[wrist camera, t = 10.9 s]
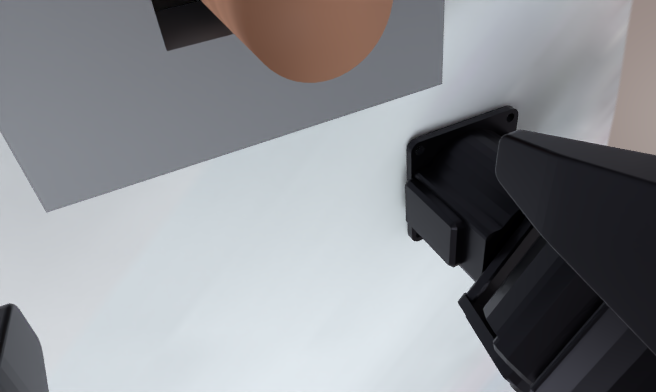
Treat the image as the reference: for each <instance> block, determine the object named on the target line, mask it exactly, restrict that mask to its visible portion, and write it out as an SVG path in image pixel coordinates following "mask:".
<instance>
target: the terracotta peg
mask: <svg viewBox="0 0 656 392" xmlns="http://www.w3.org/2000/svg"><path fill="white" fill-rule="evenodd" d="M201 1H202V2H203V3H204V4H205V5H206V6H207V7H208V8H209V9H210V10H211V11H212V12H213V13H214V14H215V15H216V16H217V17H218V18H219V19H220V20H221V21H222V22H223V23H224V24H225V25H226V26H227V27H228V28H229V29H230V30H231V31H232V32H233V33H234V34H235V35H236V36H237V37H238V38H239V39H240V40H241V41H242V42H243V43H244V44H245V45H246V46H247V47H248V48H249V49H250V50H251V51H252V52H253V53H254V54H255V55H256V56H257V57H258V58H259V59H260V60H261V61H262V62H263V63H264V64H265V65H266V66H267V67H268V68H269V69H270V70H272V71H273V72H275V73H276V74H278V75H280V76H282V77H284V78H286V79H289V80H293V81H296V82H303V83H316V82H324V81H327V80H331V79H334V78H336V77H339V76H341V75H343V74H345V73H347V72H348V71H350V70H351V69H353V68H354V67H356V66H357V65H358V64H359V63H360V62H362V61H363V60H364V59H365V58H366V57H367V55H368V54H369V53H370V52H371V51H372V50H373V48H374V47H375V45H376V44H377V43H378V41H379V39H380V37H381V36H382V34H383V32H384V30H385V27H386V25H387V22H388V19H389V16H390V13H391V8H392V4H393V0H201Z"/></svg>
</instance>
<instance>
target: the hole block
mask: <svg viewBox="0 0 656 392" xmlns="http://www.w3.org/2000/svg"><path fill="white" fill-rule="evenodd" d="M443 32H444V0H393V4H392V8H391V13H390V16H389V19H388V22H387V25H386V27H385V30H384V32H383V34H382V36H381V37H380V39H379V41H378V43H377V44H376V45H375V47H374V48H373V50H372V51H371V52H370V53H369V54H368V55H367V57H366V58H365V59H364V60H363V61H362V62H360V63H359V64H358V65H357V66H356V67H354V68H353V69H351V70H350V71H348V72H347V73H345V74H343V75H341V76H339V77H336V78H334V79H331V80H327V81H324V82H316V83H303V82H296V81H293V80H289V79H286V78H284V77H282V76H280V75H278V74H276V73H275V72H273V71H272V70H270V69H269V68H268V67H267V66H266V65H265V64H264V63H263V62H262V61H261V60H260V59H259V58H258V57H257V56H256V55H255V54H254V53H253V52H252V51H251V50H250V49H249V48H248V47H247V46H246V45H245V44H244V43H243V42H242V41H241V40H240V39H239V38H238V37H237V36H236V35H235V34H234V33H233V32H232V31H231V30H230V29H229V28H228V27H227V26H226V25H225V24H224V23H223V22H222V21H221V20H220V19H219V18H218V17H217V16H216V15H215V14H214V13H213V12H212V11H211V10H210V9H209V8H208V7H207V6H206V5H205V4H204V3H203V2H202V1H198V2H194V3H190V4H186V5H181V6H177V7H173V8H169V9H165V10H160V11H156V12H155V11H154V8H153V5H152V2H151V0H0V132H1V133H2V135H3V137H4V139H5V140H6V142H7V144H8V146H9V148H10V149H11V151H12V153H13V155H14V156H15V158H16V160H17V162H18V163H19V165H20V167H21V169H22V170H23V172H24V174H25V176H26V177H27V179H28V181H29V183H30V185H31V186H32V188H33V190H34V192H35V193H36V195H37V197H38V199H39V200H40V202H41V204H42V206H43V207H44V209H45V211H46V213H47V212H50V211H53V210H56V209H59V208H62V207H65V206H68V205H71V204H74V203H77V202H81V201H84V200H87V199H90V198H93V197H96V196H99V195H102V194H105V193H108V192H111V191H114V190H117V189H121V188H124V187H127V186H130V185H133V184H136V183H139V182H142V181H145V180H148V179H151V178H154V177H157V176H161V175H164V174H167V173H170V172H173V171H176V170H179V169H182V168H185V167H188V166H191V165H194V164H197V163H201V162H204V161H207V160H210V159H213V158H216V157H219V156H222V155H225V154H228V153H231V152H234V151H237V150H241V149H244V148H247V147H250V146H253V145H256V144H259V143H262V142H265V141H268V140H271V139H274V138H277V137H281V136H284V135H287V134H290V133H293V132H296V131H299V130H302V129H305V128H308V127H311V126H314V125H317V124H320V123H324V122H327V121H330V120H333V119H336V118H339V117H342V116H345V115H348V114H351V113H354V112H357V111H360V110H364V109H367V108H370V107H373V106H376V105H379V104H382V103H385V102H388V101H391V100H394V99H397V98H400V97H404V96H407V95H410V94H413V93H416V92H419V91H422V90H425V89H428V88H431V87H434V86H437V85H440V84H442V64H443Z"/></svg>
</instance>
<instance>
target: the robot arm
mask: <svg viewBox="0 0 656 392" xmlns="http://www.w3.org/2000/svg"><path fill="white" fill-rule="evenodd" d="M507 116H508V117H507ZM517 120H518V111H517V110H516V109H514V108H513V107H511V106H505V107H502V108H500V109H497V110H494V111H491V112H488V113H485V114H483V115H480V116H477V117H474V118H471V119H468V120H466V121H463V122H460V123H457V124H454V125H451V126H449V127H446V128H443V129H440V130H437V131H434V132H432V133H429V134H426V135H423V136H420V137H417V138H415V139H413V140H412V141H411V142H410V143H409V144H408V146H407V182H406V185H405V193H406V221H407V222H408V235H409V236H410V237H411V238H412V240H414V241H420V240H422V239H424V240H425V241H426V242H427V243H428V244H429V245H430V247H431V248H432V249H433V250H434V251H435V252H436V253H437V254H438V255H439V256H440V257H441V258H442V259H443V260H444V261H445V262H446V263H447V264H448V265H450V266H452V267H455V266H458V265H459V266H460V267H461V268H462V269H463V270H464V271H465V272H466V273H467V274H468V275H469V276H470V277H471V278H472V279H473V280H474V281H475V283H474V284H473V286H472V287H471V288H470V290H469V291H468V292H467V293H464V294H463V295H462V297H461V298H460V299H459V301H458V303H459V305H460V307H461V308H462V310H463V312H464V313H465V315H466V318H467V320H468V321H469V323H470V325H471V326H472V328H473V329H474V331H475V333H476V334H477V336H478V338H479V339H480V341H481V342H482V344H483V346H484V347H485V349H486V350H487V352H488V354H489V355H490V357H491V359H492V360H493V362H494V363H495V365H496V367H497V368H498V370H499V371H500V373H501V375H502V376H503V377H504V378H505V379H506V380H507V381H508V382H509V383H510V385H511V387H512V388H513V389H514V390H515V391H516V392H656V155H651V154H646V153H641V152H636V151H630V150H625V149H620V148H615V147H609V146H604V145H599V144H594V143H588V142H583V141H578V140H573V139H567V138H562V137H557V136H552V135H546V134H541V133H536V132H531V131H525V130H517V131H516V127H517ZM419 146H420V147H419ZM418 147H419V149H418V150H417V151H416V149H417V148H418ZM0 392H49V390H48V384H47V377H46V371H45V364H44V358H43V352H42V347H41V344H40V341H39V339H38V337H37V335H36V334H35V332H34V331H33V329H32V328H31V326H30V325H29V323H28V322H27V320H26V319H25V317H24V316H23V314H22V312H21V311H20V309H19V308H18V307H17V306H16V305H14V304H6V305H3V306H0Z"/></svg>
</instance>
